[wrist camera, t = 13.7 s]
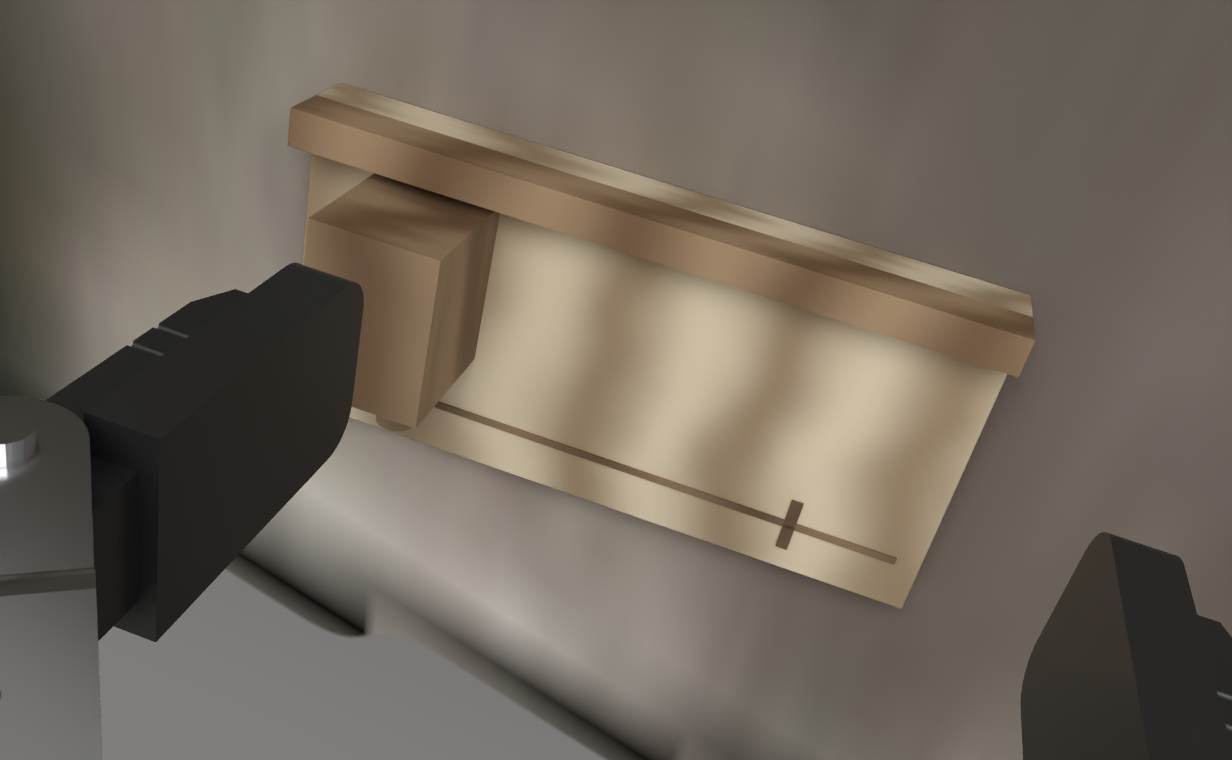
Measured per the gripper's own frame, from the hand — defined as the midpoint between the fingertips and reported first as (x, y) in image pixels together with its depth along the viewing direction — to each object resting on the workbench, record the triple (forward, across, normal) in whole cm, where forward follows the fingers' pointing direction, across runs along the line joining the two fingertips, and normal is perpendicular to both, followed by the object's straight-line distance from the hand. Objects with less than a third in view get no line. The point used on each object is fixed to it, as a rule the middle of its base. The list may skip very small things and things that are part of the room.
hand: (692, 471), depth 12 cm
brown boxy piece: (+30, +14, +16) cm, 37 cm away
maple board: (+32, +6, +16) cm, 36 cm away
